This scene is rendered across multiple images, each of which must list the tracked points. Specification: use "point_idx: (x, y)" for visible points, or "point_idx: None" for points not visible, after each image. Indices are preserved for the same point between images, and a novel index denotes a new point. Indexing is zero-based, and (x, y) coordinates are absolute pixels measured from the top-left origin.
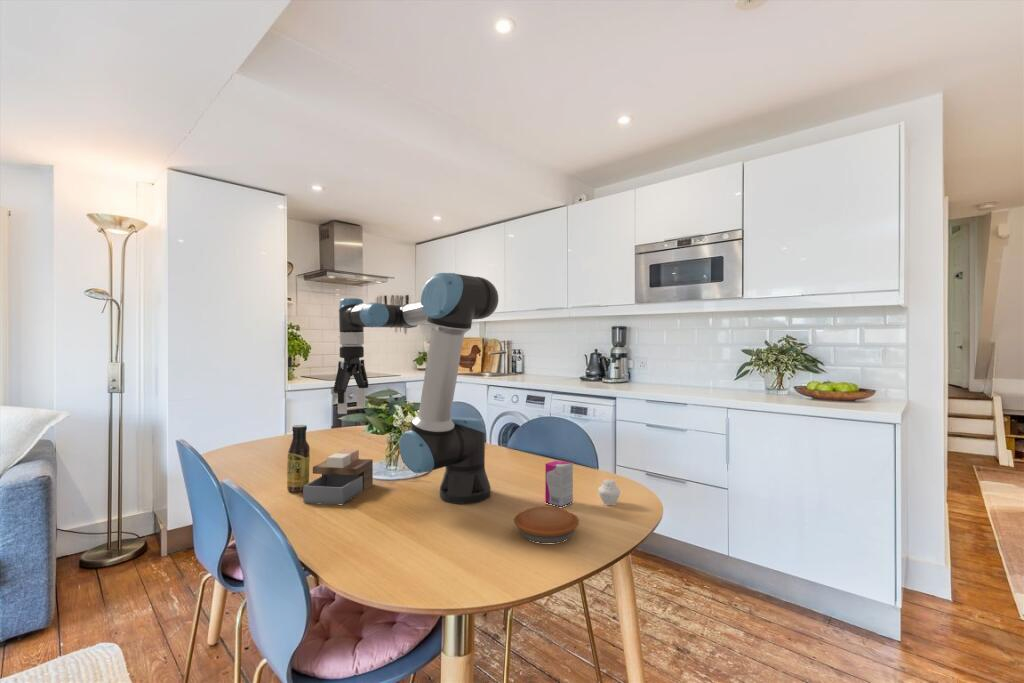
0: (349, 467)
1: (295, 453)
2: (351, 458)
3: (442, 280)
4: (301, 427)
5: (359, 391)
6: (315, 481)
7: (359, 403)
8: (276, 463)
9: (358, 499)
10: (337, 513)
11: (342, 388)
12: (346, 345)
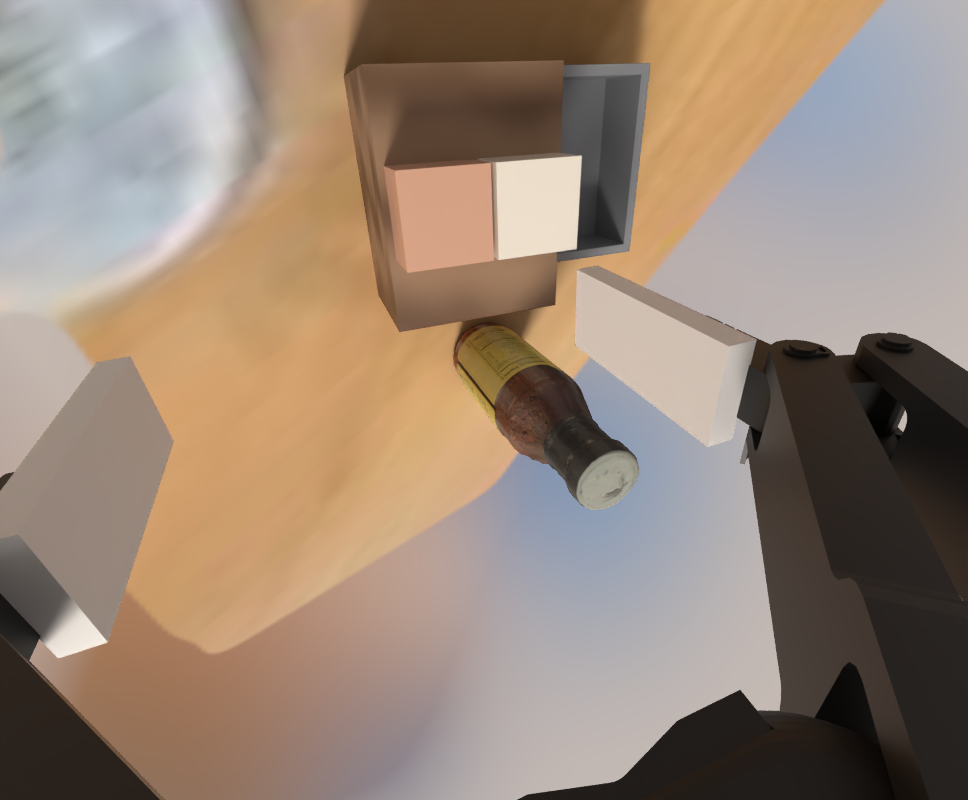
0: (544, 118)
1: (583, 397)
2: (477, 160)
3: None
4: (631, 452)
5: (96, 562)
6: (568, 251)
7: (148, 440)
8: (246, 635)
9: (546, 32)
10: (680, 40)
11: (899, 355)
12: None
